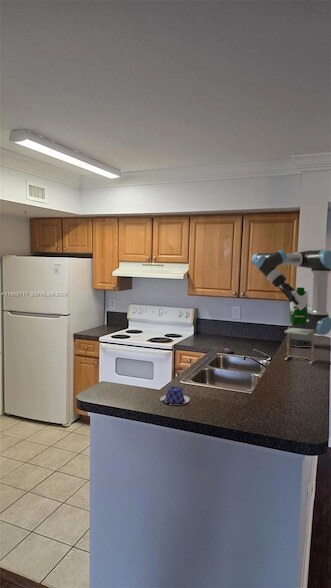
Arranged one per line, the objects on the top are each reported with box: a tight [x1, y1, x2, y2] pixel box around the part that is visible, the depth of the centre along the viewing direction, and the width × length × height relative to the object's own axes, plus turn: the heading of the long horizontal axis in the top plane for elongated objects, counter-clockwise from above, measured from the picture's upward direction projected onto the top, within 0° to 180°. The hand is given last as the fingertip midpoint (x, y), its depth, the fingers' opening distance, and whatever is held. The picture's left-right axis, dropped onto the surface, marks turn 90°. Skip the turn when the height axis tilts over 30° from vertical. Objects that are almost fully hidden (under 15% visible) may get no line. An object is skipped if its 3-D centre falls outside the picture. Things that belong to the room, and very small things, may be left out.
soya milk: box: [289, 287, 309, 325], centre depth 208 cm, size 9×9×20 cm
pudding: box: [159, 385, 191, 405], centre depth 152 cm, size 12×12×5 cm
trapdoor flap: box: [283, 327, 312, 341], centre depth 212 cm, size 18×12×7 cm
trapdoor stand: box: [283, 326, 316, 365], centre depth 216 cm, size 10×15×19 cm
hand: (304, 307), depth 206 cm, fingers closed on soya milk, 9 cm apart
